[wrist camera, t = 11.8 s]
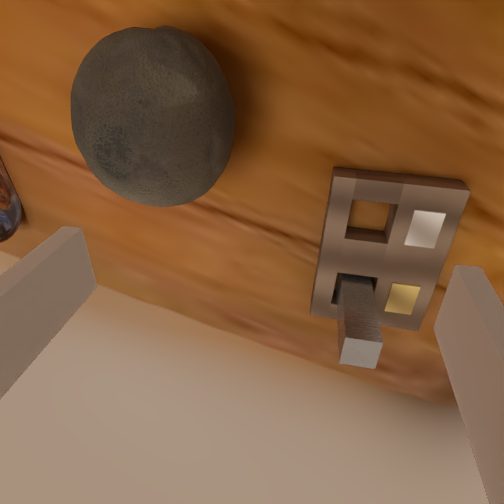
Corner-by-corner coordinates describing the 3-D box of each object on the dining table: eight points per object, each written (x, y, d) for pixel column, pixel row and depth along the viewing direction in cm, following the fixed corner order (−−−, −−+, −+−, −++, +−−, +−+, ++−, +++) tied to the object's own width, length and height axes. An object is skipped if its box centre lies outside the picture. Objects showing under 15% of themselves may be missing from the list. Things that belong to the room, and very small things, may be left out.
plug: (340, 263, 46) (345, 337, 35) (368, 267, 46) (382, 343, 35) (335, 285, 48) (339, 363, 37) (363, 289, 48) (374, 368, 37)
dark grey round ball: (100, 114, 42) (3, 153, 29) (162, -11, 35) (70, -32, 22) (205, 194, 45) (157, 261, 32) (281, 92, 38) (259, 126, 25)
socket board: (333, 166, 41) (334, 177, 38) (461, 180, 39) (471, 192, 36) (310, 300, 50) (310, 316, 47) (413, 315, 48) (418, 332, 46)
